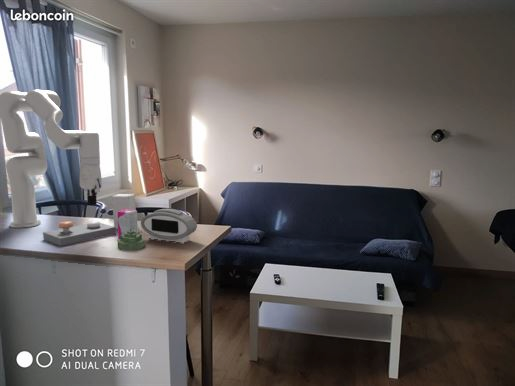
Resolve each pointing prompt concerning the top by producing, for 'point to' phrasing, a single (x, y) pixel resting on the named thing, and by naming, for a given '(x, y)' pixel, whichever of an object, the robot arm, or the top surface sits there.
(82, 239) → the button panel
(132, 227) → the supplement box
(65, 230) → the terracotta button
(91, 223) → the grey button
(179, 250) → the top surface
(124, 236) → the decorative artifact
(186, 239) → the alarm clock
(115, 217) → the skincare box
